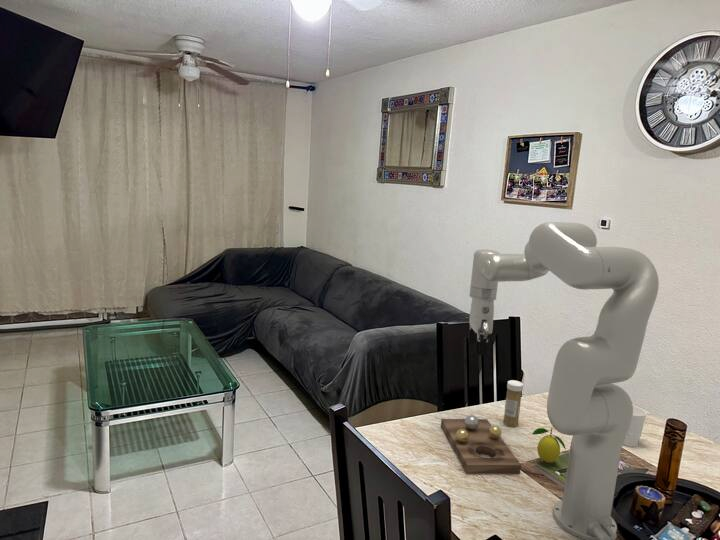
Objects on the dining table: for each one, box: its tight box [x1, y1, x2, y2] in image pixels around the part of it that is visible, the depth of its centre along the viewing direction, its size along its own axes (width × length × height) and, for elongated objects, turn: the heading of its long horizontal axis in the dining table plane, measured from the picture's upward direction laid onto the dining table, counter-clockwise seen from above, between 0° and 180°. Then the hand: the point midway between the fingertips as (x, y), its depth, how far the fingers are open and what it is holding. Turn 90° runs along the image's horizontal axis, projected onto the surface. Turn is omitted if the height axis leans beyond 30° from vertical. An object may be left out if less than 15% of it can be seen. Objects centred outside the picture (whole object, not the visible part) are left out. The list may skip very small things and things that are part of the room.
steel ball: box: [464, 414, 479, 430], centre depth 138 cm, size 4×4×4 cm
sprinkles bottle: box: [502, 379, 524, 428], centre depth 148 cm, size 5×5×14 cm
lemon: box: [531, 427, 567, 464], centre depth 127 cm, size 7×6×10 cm
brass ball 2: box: [488, 425, 502, 439], centre depth 134 cm, size 4×4×4 cm
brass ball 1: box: [456, 429, 469, 443], centre depth 131 cm, size 4×4×4 cm
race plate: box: [440, 418, 522, 475], centre depth 133 cm, size 24×14×2 cm, turn 6°
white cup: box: [623, 404, 647, 448], centre depth 142 cm, size 8×8×10 cm
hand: (476, 348), depth 143 cm, fingers open, 9 cm apart
